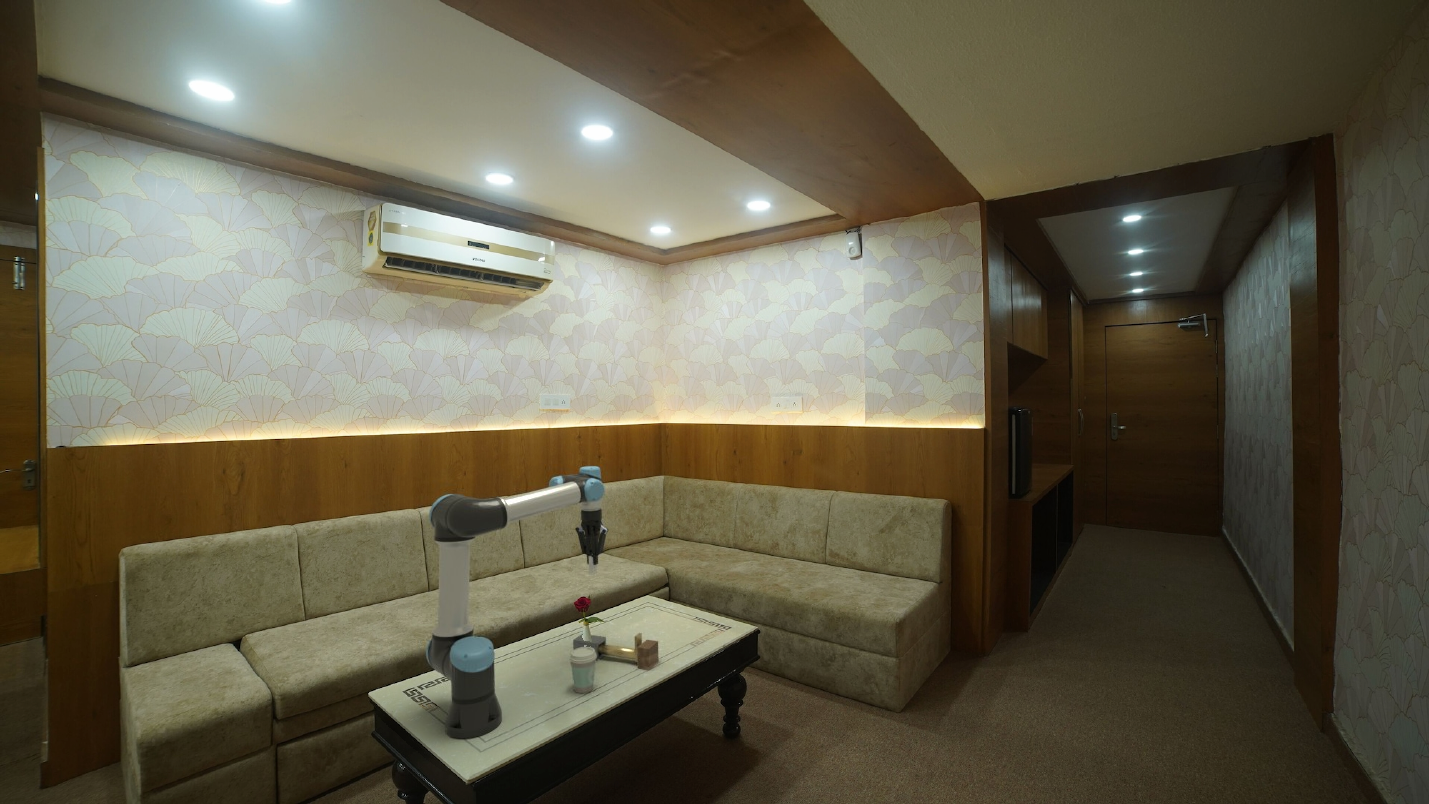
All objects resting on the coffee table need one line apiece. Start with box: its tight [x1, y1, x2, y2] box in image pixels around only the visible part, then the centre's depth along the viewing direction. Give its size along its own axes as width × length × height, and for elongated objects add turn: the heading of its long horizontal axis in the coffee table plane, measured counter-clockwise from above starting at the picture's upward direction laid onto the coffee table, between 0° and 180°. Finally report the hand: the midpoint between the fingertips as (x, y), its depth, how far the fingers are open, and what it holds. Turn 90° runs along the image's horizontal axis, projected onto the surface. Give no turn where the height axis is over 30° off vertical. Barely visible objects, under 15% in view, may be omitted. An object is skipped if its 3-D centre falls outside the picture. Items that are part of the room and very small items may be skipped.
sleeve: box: [572, 633, 607, 662], centre depth 217 cm, size 10×6×6 cm, turn 69°
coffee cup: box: [569, 647, 597, 694], centre depth 192 cm, size 9×8×12 cm
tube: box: [598, 632, 643, 663], centre depth 213 cm, size 23×3×9 cm, turn 69°
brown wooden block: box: [637, 639, 659, 671], centre depth 209 cm, size 4×7×7 cm, turn 159°
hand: (592, 573), depth 219 cm, fingers closed
